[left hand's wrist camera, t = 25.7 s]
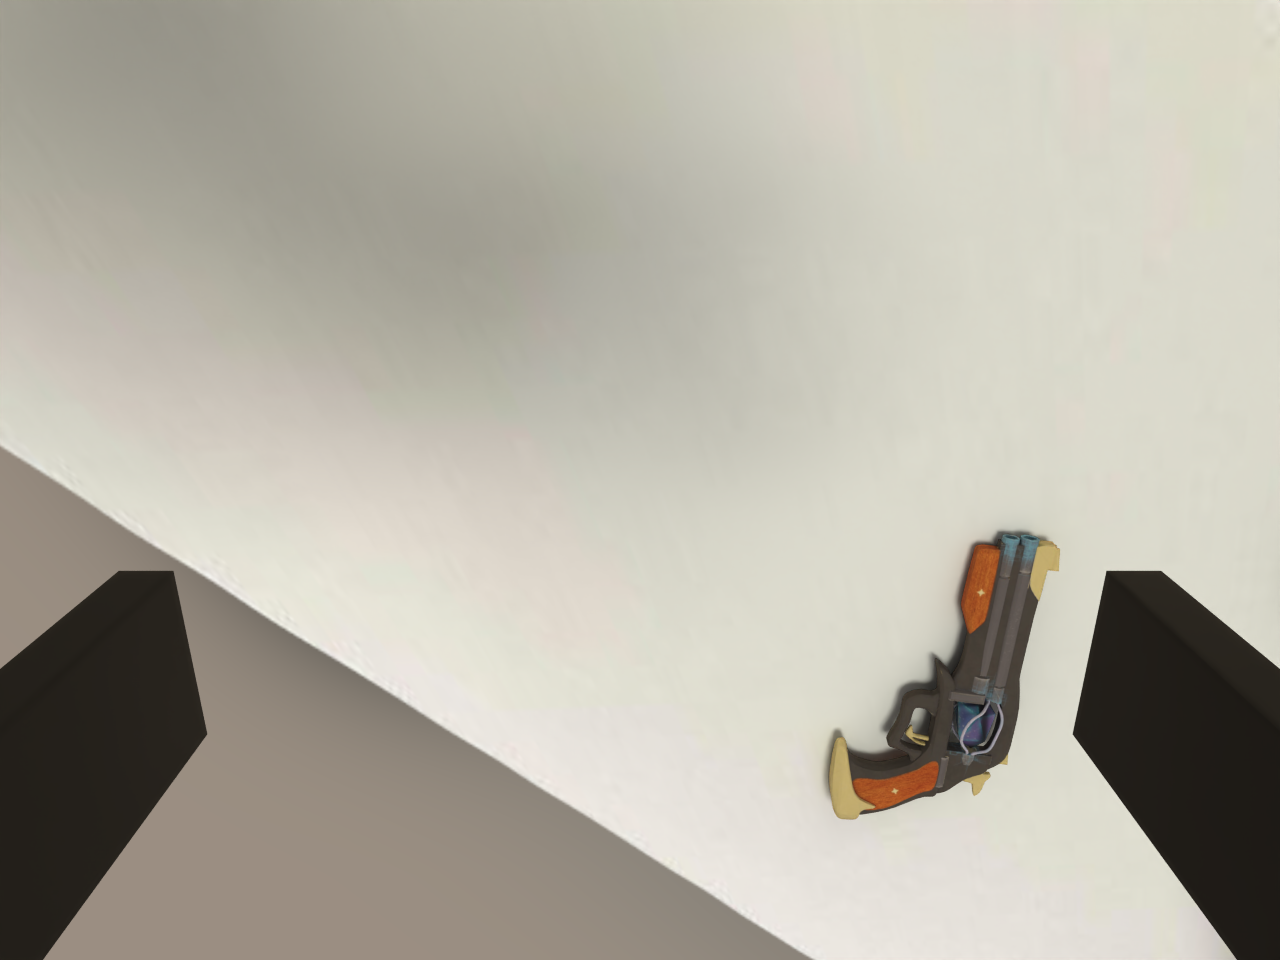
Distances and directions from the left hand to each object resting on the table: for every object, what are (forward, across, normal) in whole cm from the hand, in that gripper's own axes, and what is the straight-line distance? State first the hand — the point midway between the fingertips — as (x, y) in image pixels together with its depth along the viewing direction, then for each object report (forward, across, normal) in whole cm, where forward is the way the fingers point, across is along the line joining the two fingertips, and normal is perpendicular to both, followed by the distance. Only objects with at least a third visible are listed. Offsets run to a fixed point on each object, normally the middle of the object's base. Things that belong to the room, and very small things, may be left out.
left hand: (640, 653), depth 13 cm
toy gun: (+34, +17, -22) cm, 44 cm away
